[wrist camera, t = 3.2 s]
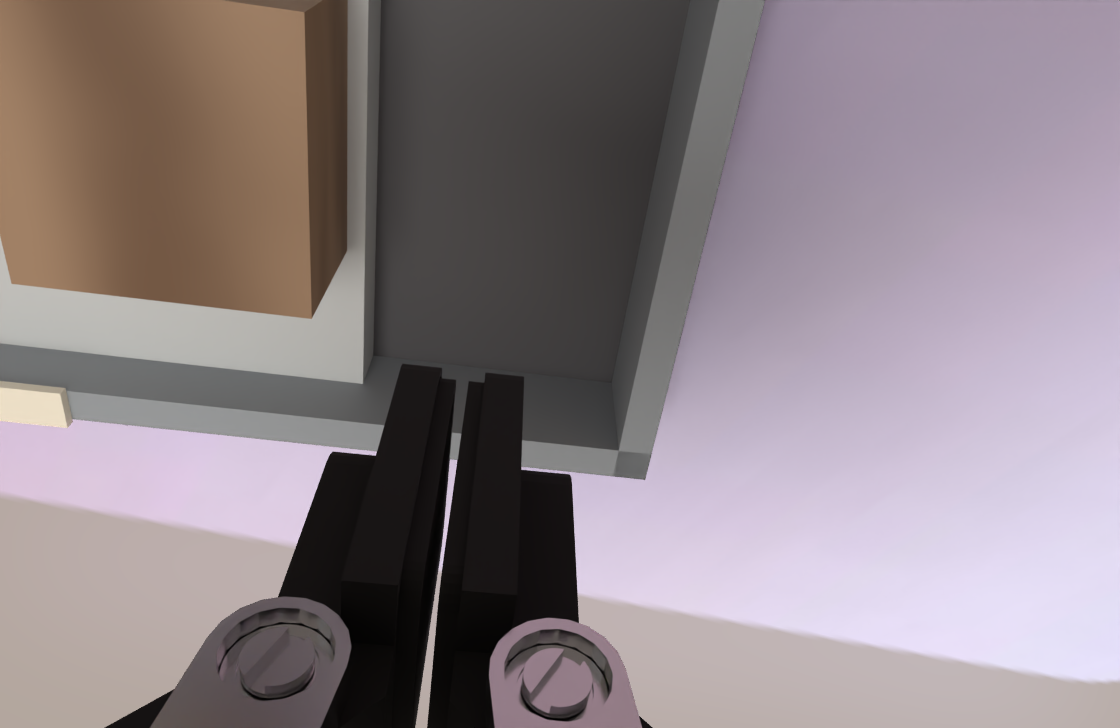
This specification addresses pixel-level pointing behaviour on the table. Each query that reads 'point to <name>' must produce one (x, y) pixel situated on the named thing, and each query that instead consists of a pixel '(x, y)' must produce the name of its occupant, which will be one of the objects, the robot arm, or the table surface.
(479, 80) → the box
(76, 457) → the table surface
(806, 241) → the table surface
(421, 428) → the robot arm
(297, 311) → the walnut block
